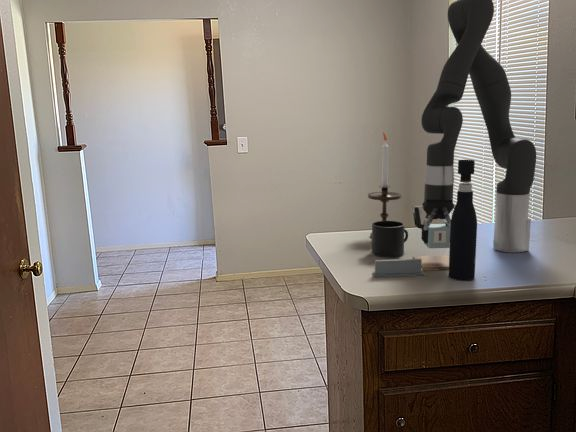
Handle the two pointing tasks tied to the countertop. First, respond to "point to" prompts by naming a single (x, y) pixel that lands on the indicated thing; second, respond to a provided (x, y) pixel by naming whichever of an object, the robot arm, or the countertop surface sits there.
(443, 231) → the letter cube
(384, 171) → the candlestick
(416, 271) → the grey angle bar
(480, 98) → the robot arm
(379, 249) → the mug
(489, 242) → the countertop surface
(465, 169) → the wine bottle
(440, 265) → the coaster
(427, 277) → the countertop surface
